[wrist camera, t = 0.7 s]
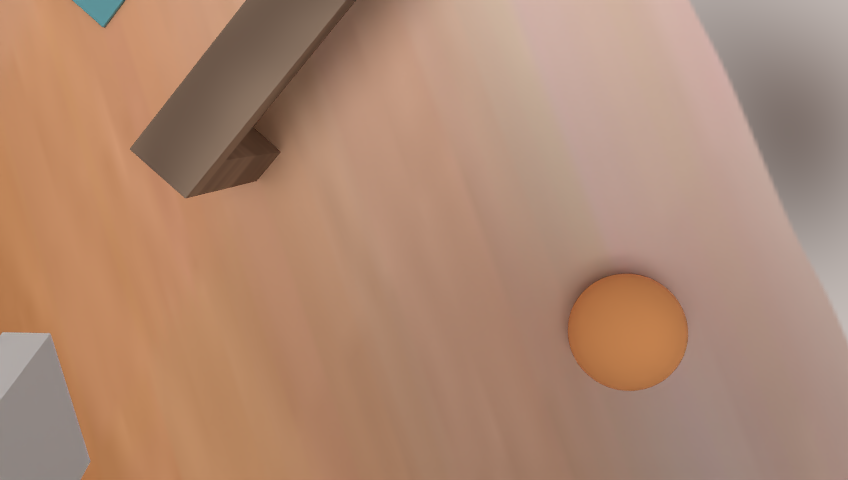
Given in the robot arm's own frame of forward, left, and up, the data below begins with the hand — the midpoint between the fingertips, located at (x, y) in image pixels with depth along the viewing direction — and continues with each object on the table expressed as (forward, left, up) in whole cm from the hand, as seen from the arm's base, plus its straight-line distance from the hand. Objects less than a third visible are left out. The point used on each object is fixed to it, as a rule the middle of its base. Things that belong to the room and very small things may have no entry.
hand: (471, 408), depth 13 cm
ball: (-8, 0, -26) cm, 27 cm away
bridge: (+12, 0, -28) cm, 31 cm away
